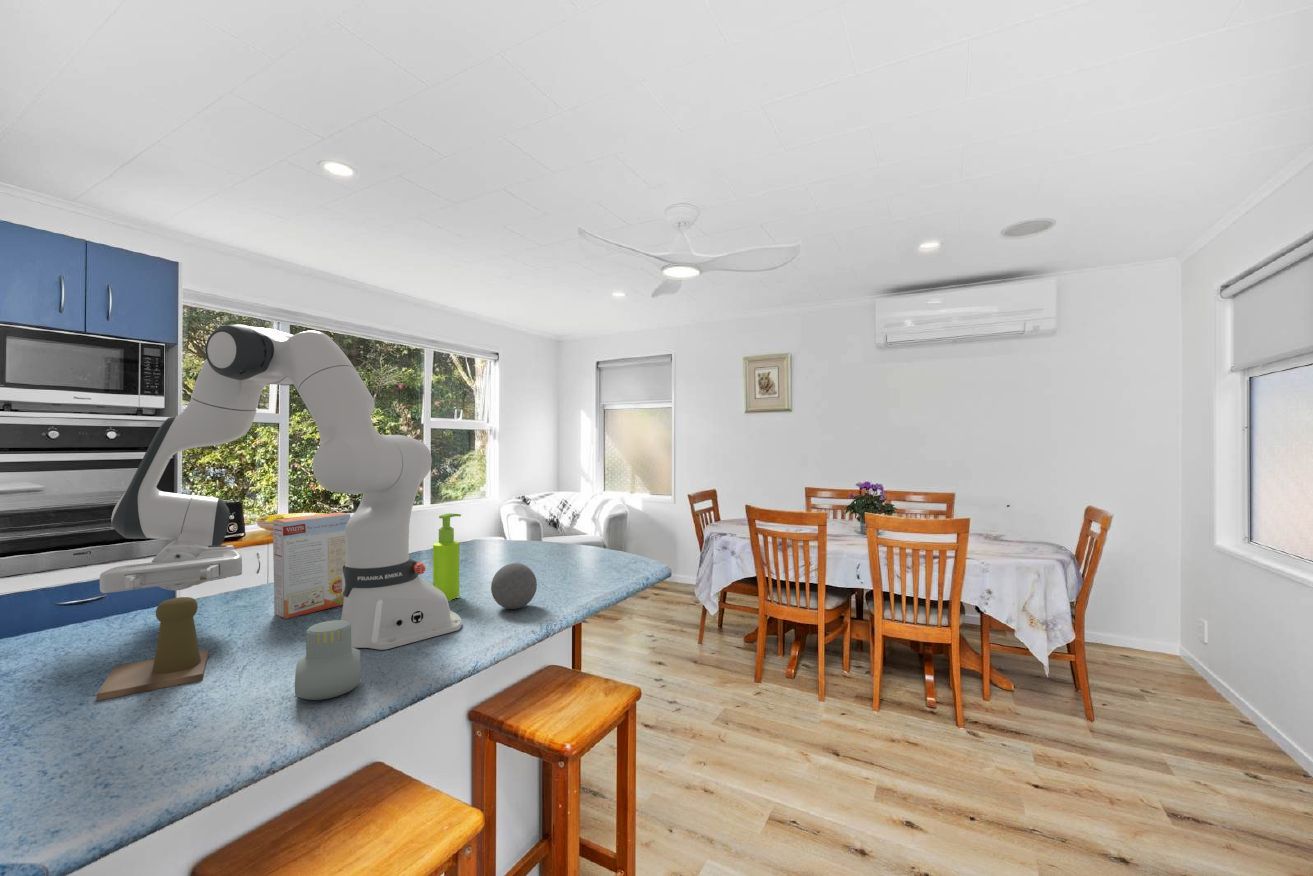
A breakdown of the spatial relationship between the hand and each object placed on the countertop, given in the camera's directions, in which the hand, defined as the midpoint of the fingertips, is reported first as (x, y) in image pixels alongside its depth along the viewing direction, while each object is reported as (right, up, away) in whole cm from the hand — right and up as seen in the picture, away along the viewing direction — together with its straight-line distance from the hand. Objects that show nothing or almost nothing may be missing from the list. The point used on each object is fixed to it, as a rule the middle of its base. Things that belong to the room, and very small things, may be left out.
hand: (170, 579), depth 99 cm
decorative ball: (+55, -13, +26) cm, 62 cm away
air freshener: (+37, -13, -15) cm, 42 cm away
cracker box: (+10, -13, +25) cm, 30 cm away
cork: (+8, -12, -8) cm, 17 cm away
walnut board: (+6, -13, -10) cm, 17 cm away
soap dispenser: (+37, -13, +34) cm, 52 cm away
